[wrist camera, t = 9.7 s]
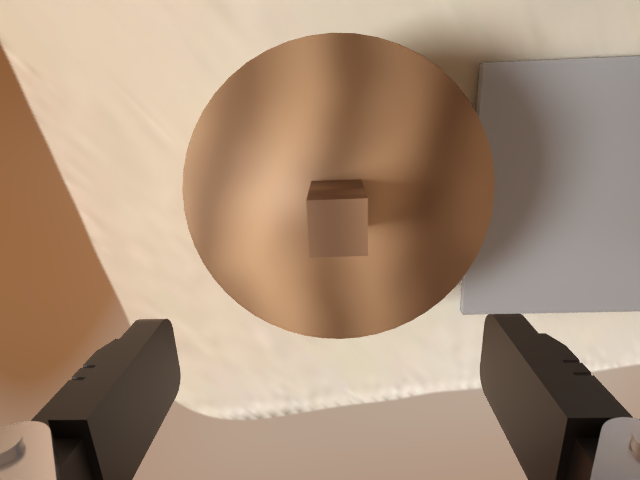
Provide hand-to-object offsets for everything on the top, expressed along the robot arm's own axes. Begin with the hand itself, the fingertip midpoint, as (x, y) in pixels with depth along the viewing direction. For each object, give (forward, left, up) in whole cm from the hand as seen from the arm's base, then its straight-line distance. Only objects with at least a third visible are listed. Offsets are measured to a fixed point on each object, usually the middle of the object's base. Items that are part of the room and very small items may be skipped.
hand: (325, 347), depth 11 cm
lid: (0, 0, -17) cm, 17 cm away
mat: (-21, +2, -24) cm, 32 cm away
